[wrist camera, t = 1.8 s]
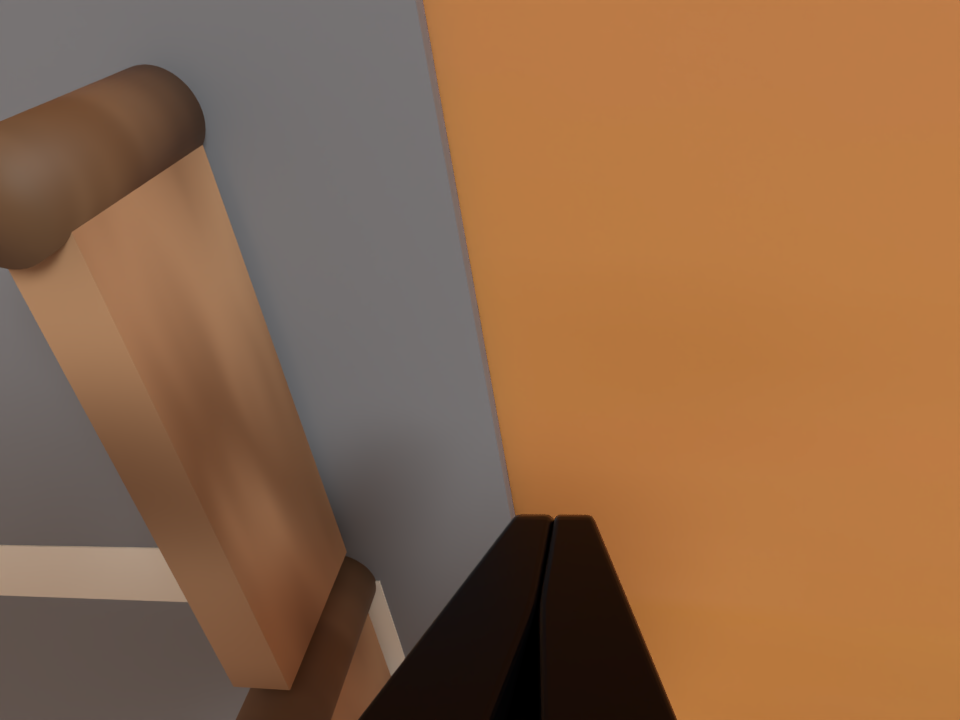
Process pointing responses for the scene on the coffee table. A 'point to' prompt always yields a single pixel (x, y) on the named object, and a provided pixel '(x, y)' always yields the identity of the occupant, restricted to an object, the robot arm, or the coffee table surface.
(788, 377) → the coffee table surface
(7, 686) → the card
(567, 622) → the robot arm
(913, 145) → the coffee table surface
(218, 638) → the brown wooden bar
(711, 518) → the coffee table surface
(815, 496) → the coffee table surface
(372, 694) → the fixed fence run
